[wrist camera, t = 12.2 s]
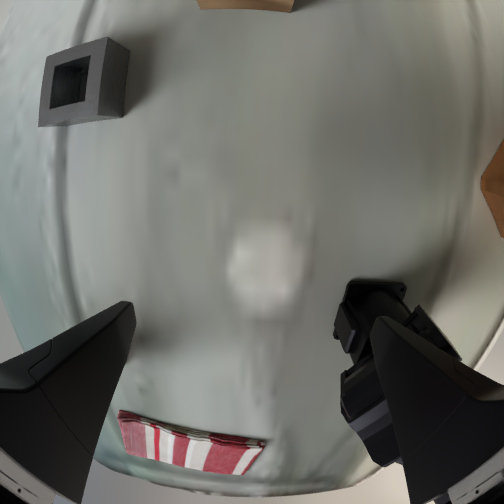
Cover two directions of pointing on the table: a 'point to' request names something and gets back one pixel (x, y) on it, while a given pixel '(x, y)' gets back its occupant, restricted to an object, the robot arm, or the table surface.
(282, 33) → the table surface
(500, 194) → the whiskey bottle
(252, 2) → the wooden square ring
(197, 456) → the dish towel
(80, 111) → the block
